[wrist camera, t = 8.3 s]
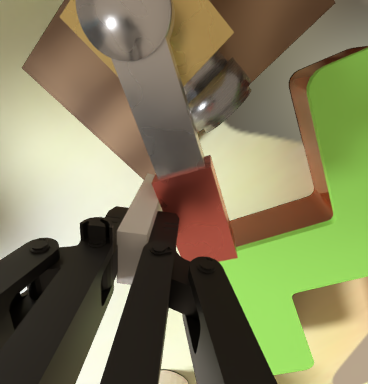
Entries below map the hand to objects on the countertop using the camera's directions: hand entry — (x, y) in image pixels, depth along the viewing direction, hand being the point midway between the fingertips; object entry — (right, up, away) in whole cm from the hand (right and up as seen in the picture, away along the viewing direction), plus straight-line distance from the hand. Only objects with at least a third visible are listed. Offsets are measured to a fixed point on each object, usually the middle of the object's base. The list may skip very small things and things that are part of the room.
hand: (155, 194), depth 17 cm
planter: (+13, -3, +12) cm, 18 cm away
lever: (+1, +3, -3) cm, 5 cm away
